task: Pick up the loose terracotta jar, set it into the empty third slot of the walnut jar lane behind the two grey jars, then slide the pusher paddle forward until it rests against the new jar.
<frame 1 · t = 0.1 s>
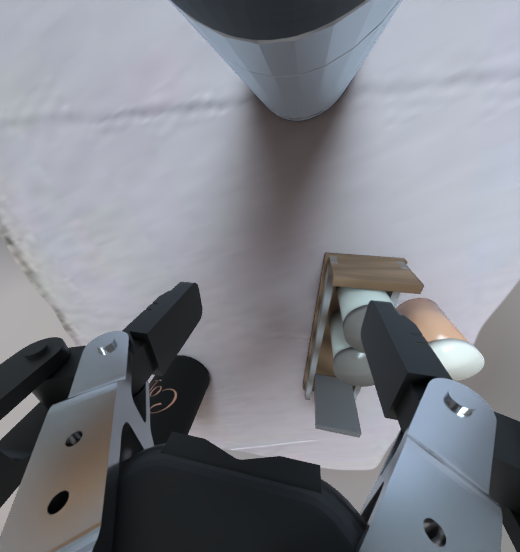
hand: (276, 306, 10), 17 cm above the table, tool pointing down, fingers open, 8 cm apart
jar lane: (341, 336, 33), on the table
grey jar 1: (357, 287, 27), point 1 cm above the table, touching jar lane
coffee jar: (188, 368, 46), on the table
pusher paddle: (334, 402, 33), point 5 cm above the table, slide at 21.5 cm
terracotta jar: (415, 313, 28), on the table
grey jar 2: (347, 321, 30), point 1 cm above the table, touching jar lane
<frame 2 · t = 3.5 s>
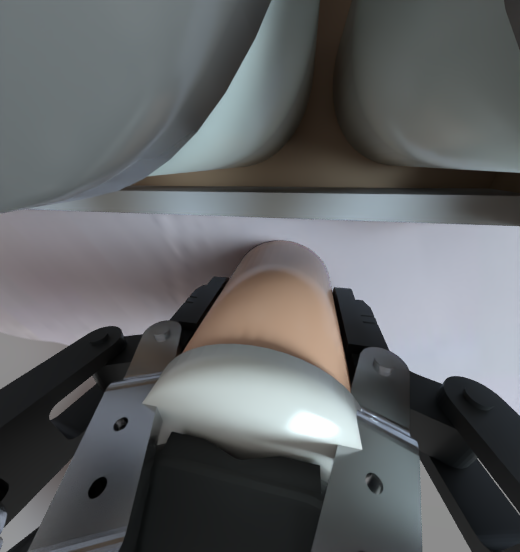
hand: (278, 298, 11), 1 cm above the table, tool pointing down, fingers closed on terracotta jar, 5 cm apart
jar lane: (143, 96, 9), on the table
grey jar 1: (427, 64, 6), point 1 cm above the table, touching jar lane
terracotta jar: (281, 285, 12), on the table, touching gripper
grey jar 2: (234, 80, 7), point 1 cm above the table, touching jar lane
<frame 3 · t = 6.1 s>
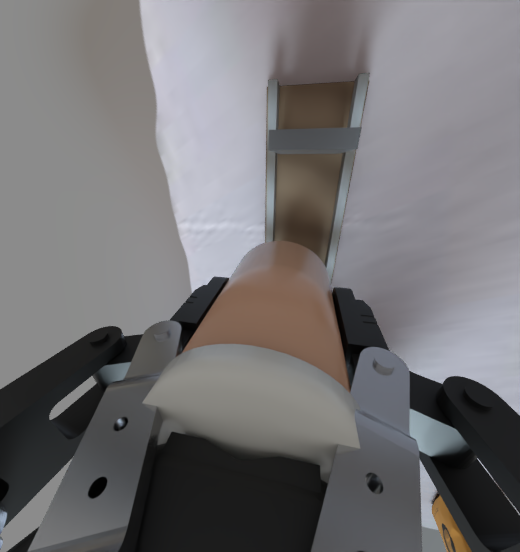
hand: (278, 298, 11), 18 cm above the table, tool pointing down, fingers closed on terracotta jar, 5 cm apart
jar lane: (301, 231, 26), on the table
pusher paddle: (310, 143, 18), point 5 cm above the table, slide at 21.5 cm
terracotta jar: (280, 285, 12), point 16 cm above the table, touching gripper
coffee package: (452, 497, 49), on the table
when the fingers open (3 cm above the table, at t = 9.2 s): terracotta jar stays where it is, resting on jar lane.
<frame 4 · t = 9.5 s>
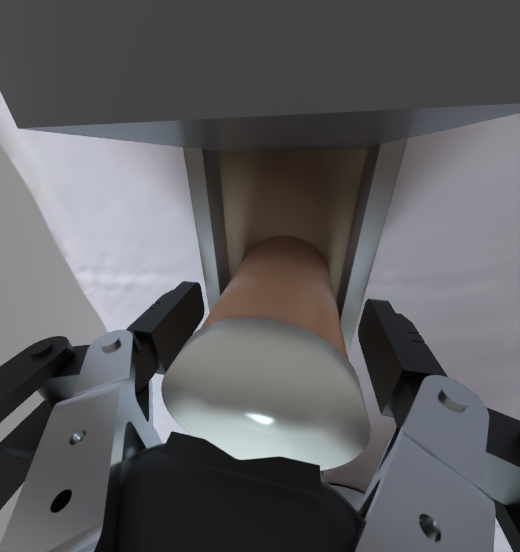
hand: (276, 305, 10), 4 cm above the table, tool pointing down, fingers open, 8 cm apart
jar lane: (282, 295, 14), on the table
pusher paddle: (277, 116, 5), point 5 cm above the table, slide at 21.5 cm
terracotta jar: (283, 277, 12), point 1 cm above the table, touching jar lane
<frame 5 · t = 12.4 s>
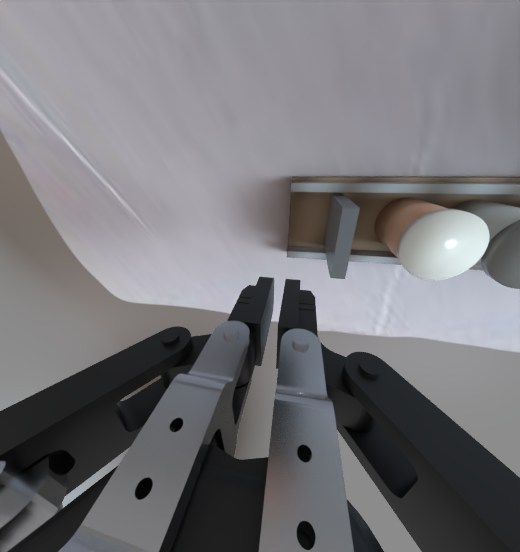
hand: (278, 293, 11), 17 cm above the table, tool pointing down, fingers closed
jar lane: (416, 221, 23), on the table
pusher paddle: (337, 231, 20), point 5 cm above the table, slide at 21.5 cm
terracotta jar: (401, 222, 23), point 1 cm above the table, touching jar lane
grey jar 2: (465, 225, 22), point 1 cm above the table, touching jar lane
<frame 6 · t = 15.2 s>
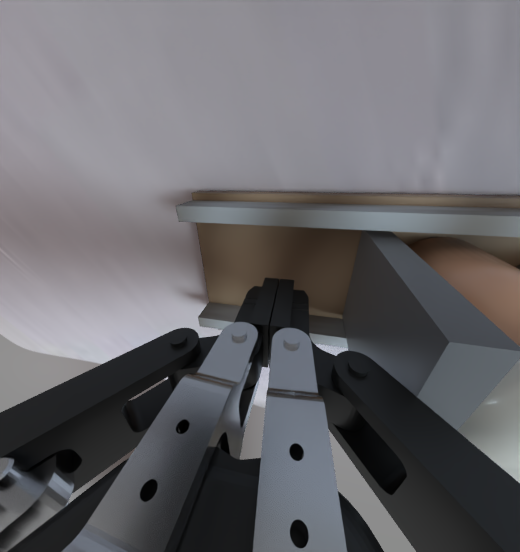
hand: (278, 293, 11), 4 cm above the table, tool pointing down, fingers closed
jar lane: (426, 274, 12), on the table
pusher paddle: (381, 324, 9), point 5 cm above the table, slide at 16.2 cm, touching hand, terracotta jar
terracotta jar: (426, 282, 12), point 1 cm above the table, touching grey jar 2, pusher paddle
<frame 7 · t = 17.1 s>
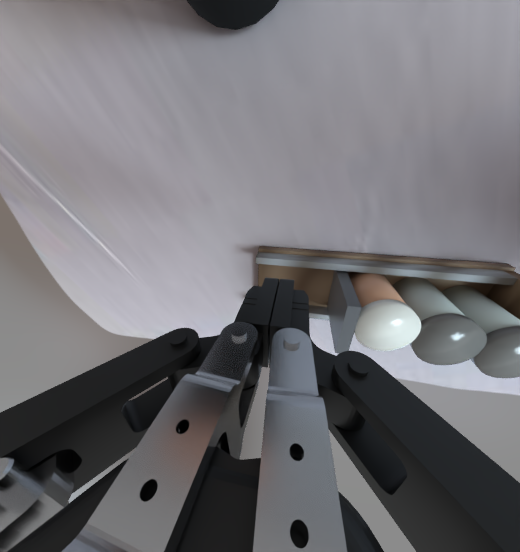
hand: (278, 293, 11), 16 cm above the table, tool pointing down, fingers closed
jar lane: (364, 286, 27), on the table
grey jar 1: (454, 303, 25), point 1 cm above the table, touching grey jar 2, jar lane
pusher paddle: (340, 306, 23), point 5 cm above the table, slide at 16.2 cm, touching terracotta jar
terracotta jar: (363, 285, 26), point 1 cm above the table, touching grey jar 2, jar lane, pusher paddle
grey jar 2: (409, 295, 26), point 1 cm above the table, touching grey jar 1, terracotta jar
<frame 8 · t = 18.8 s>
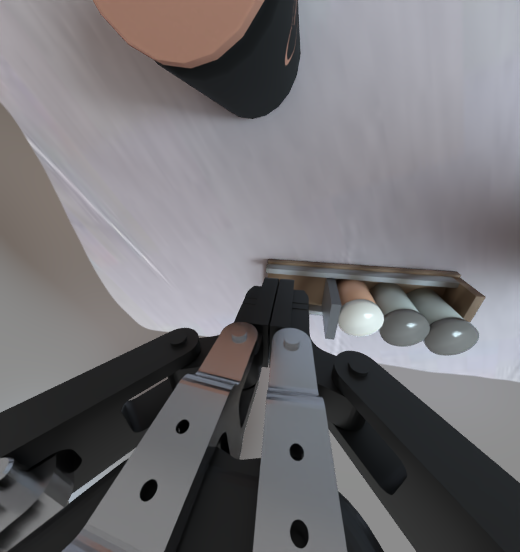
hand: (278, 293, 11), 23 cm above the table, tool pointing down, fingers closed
jar lane: (350, 289, 35), on the table
grey jar 1: (419, 302, 33), point 1 cm above the table, touching grey jar 2, jar lane
coffee jar: (254, 63, 24), on the table
pusher paddle: (330, 304, 31), point 5 cm above the table, slide at 16.2 cm, touching terracotta jar
terracotta jar: (348, 288, 34), point 1 cm above the table, touching grey jar 2, jar lane, pusher paddle
grey jar 2: (384, 295, 34), point 1 cm above the table, touching grey jar 1, terracotta jar
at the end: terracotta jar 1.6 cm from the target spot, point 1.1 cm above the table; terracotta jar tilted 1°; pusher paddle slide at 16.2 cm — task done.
